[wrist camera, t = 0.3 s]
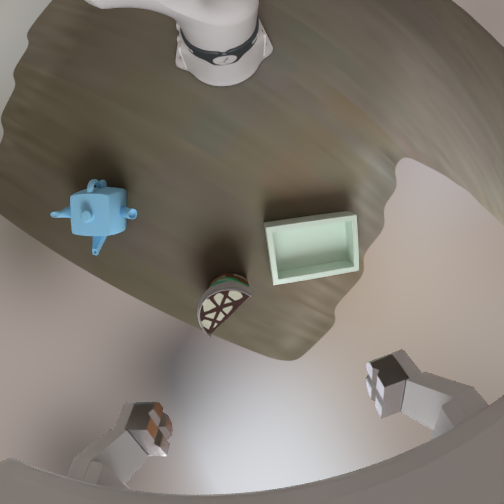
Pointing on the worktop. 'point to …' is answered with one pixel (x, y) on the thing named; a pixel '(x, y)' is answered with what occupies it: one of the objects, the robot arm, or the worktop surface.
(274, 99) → the worktop surface
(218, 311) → the food container
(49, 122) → the worktop surface
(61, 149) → the worktop surface
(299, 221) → the crate
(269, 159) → the worktop surface
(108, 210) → the teapot
